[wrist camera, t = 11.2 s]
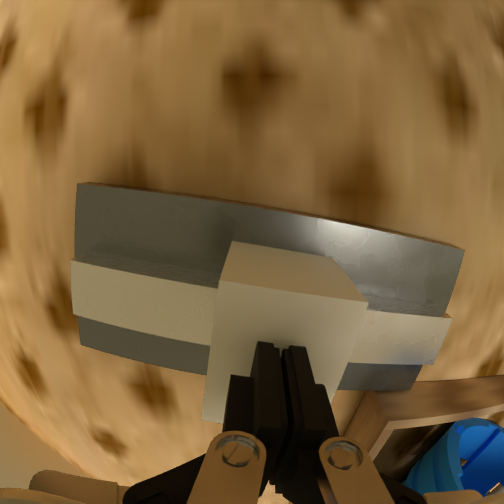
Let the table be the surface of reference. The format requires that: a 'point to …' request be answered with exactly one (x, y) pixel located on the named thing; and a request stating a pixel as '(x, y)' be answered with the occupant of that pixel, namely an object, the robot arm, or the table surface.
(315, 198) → the table surface
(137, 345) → the rail board
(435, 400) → the brown wooden tray
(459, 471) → the tube
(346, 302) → the block
